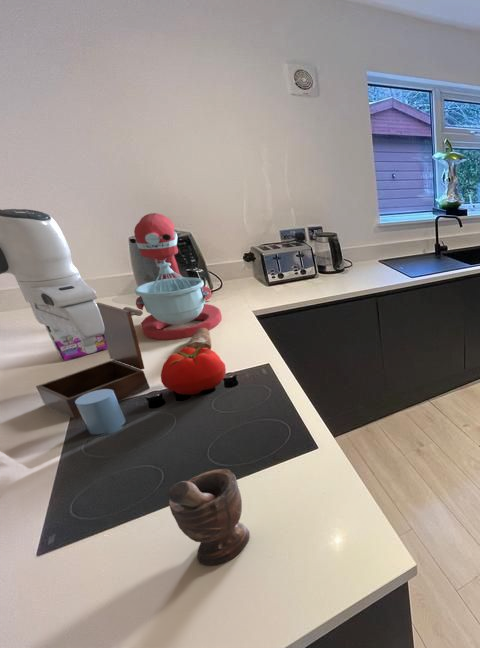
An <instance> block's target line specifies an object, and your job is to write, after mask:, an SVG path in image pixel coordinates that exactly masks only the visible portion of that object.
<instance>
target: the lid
mask: <svg viewBox="0 0 480 648" xmlns="http://www.w3.org/2000/svg"><path fill="white" fill-rule="evenodd" d="M95 303H96V304H97V306H98V308H99V311H100V314H101V317H102V321H103V324H104V337H105V340H106V344H107V348H108V349H107V352H108V354H109V358H110V360H115V361H118V362H120V363H123V364H126V365H129V366H131V367H134V368H137V369H140V370H142V371H143V370H145V364H144V360H143V357H142V353H141V349H140V345H139V340H138V337H137V333H136V329H135V325H134V320H133V316H137V317H141V316H142V315H143V314H144V312H143V310H141V309H138V308H134V307H130V306H124V307H123V308H121V307H120V308H119V307H116V306H113V305H109V304H106V303H102V302H95Z"/></svg>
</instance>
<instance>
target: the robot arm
mask: <svg viewBox="0 0 480 648" xmlns="http://www.w3.org/2000/svg"><path fill="white" fill-rule="evenodd" d="M3 274H11V275H13V276H14V277H15V280H16V283H17V285H18V288H19V289H20V292H21V293H22V296H23V297H24V299H25V300H24V301H25V302H27V303H28V304H29V305H30V308H31V310H32V313H33V316H34V317H35V319H36V321H37V322H38V323H39V324H41V325H44V326H45V325H46V326H49V327H51V329H52V330H53V332H54V333H55V334H56V335H57V337H58V338H59V340H60V342H61V343H62V344H65V345H68V344H72V343H74V339H73V336H76V337H78V338H79V340H81V342H82V346H81V348H82V349H83V352H85V353H87V354H88V355H91V354H94V353H93V352H95V353H97V352H96V351H97V348H96V346H95V339H96V336H100V335H102V334H104V324H103V321H102V317H101V314H100V311H99V308H98V306H97V304H96V303H97V302H96V301H95V300H97V299H98V295H97V293H96V291H95V289H93V288H92V287H91V286H90V285H88V284H87V283H86V282H85V281H84V279H83V278H82V277H81V274H80V271H79V269H78V268H77V267H76V266H75V264H74V263H73V260H72V251H71V248H70V246H69V243H68V241H67V238H66V236H65V234H64V232H63V230H62V229H61V227H60V225H59V224H58V223H57V221H56V220H55V219H54V218H53V217H52V216H51V215H50V214H48V213H46V212H44V211H39V210H34V209H26V208H21V209H20V208H19V209H18V208H5V209H1V208H0V275H3ZM70 334H71V335H70ZM72 335H73V336H72ZM90 353H91V354H90Z"/></svg>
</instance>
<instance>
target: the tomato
mask: <svg viewBox="0 0 480 648" xmlns="http://www.w3.org/2000/svg"><path fill="white" fill-rule="evenodd" d="M226 370H227V369H226V364H225V362H224V361H223V360H222V359H221V357H220V356H219V355H218V353H216V352H215V351H214V350H212V349H211V350H210V349H208V348H201V347H200V349H199V348H198V349H194V348H189V347H187V346H186V347H183V348H180V349H179V351H177V352H176V353H174V354H171V355H170V356H168V358H167V359H166V360H165V361H164V362H163V365H162V368H161V372H160V382H161V383H162V385H163V386H164V388H166V389H167V390H169V391H171V392H174V393H176V394H178V395H189V396H190V395H197V394H200V393H201V392H203V391H208V390H212V389H214V388H216V387H217V386H219V385H220V384H221V382H222V381H223V380H224V378H225V376H226V373H227V371H226Z"/></svg>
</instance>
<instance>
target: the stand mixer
mask: <svg viewBox="0 0 480 648" xmlns="http://www.w3.org/2000/svg"><path fill="white" fill-rule="evenodd" d="M175 227H176V226H175V224H174V223H173V220H171V219H170V218H169V217H168V216H166V215H164V214H162V213H161V214H160V213H158V212H151V213H148V214H145V215H144V216H142V217H141V218H140V219H139V221H138V222H137V224H135V226H134V230H133V233H134V237H135V238H130V239H129V242H130V243H131V244H136V246H137V248H138V250H139V252H140V255H141V256H142V257H143V258H148V259H150V260H156V261H157V264H156V267H158V269H159V271H158V275H157V277H156V279H155V280H154V281H150V282H146V283H144V284H141V285H139V286H137V287H136V288H134V289H135V290H134V293H135V294H136V295H137V296H138V297H137V298H136V300H135V306H136V309H137V310H141V311H143V310H144V308H145V311H146V313H148V314H149V315H148V316H146V317H145V318H144V319H143V320H142V321H141V322H140V326H141V330H142V333H143V335H144V336H145V337H147V338H150V339H153V340H162V341H163V340H164V341H165V340H178V339H185V338H189V337H190V338H191V337H192V336H193V335H194V333H195V332H196V331H197V330H198V329H200V328H206V329H208V331H210V330H212V329H213V328H215V327H217V326H218V325H219V324H220V323H221V321H223V320H222V319H223V317H222V312H221V309H220V308H218V307H217V306H215V305H211V304H207V303H206V301H208V300H209V299H211V298H212V290H211V288H209V287H208V286H205V283H204V280H203V279H202V278H200V277H199V278H198V277H188V276H187V277H184V276H183V275H182V274H181V272H180V269H179V266H178V263H177V260H176V256H175V255H178V253H179V249H178V233H177V231H175ZM192 321H202V322H199V323H197V324H194V325H189V326H186V327H185V326H184V327H180V328H173V329H164V328H166V327H169V326H171V325H184V324H187V323H190V322H192Z"/></svg>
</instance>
